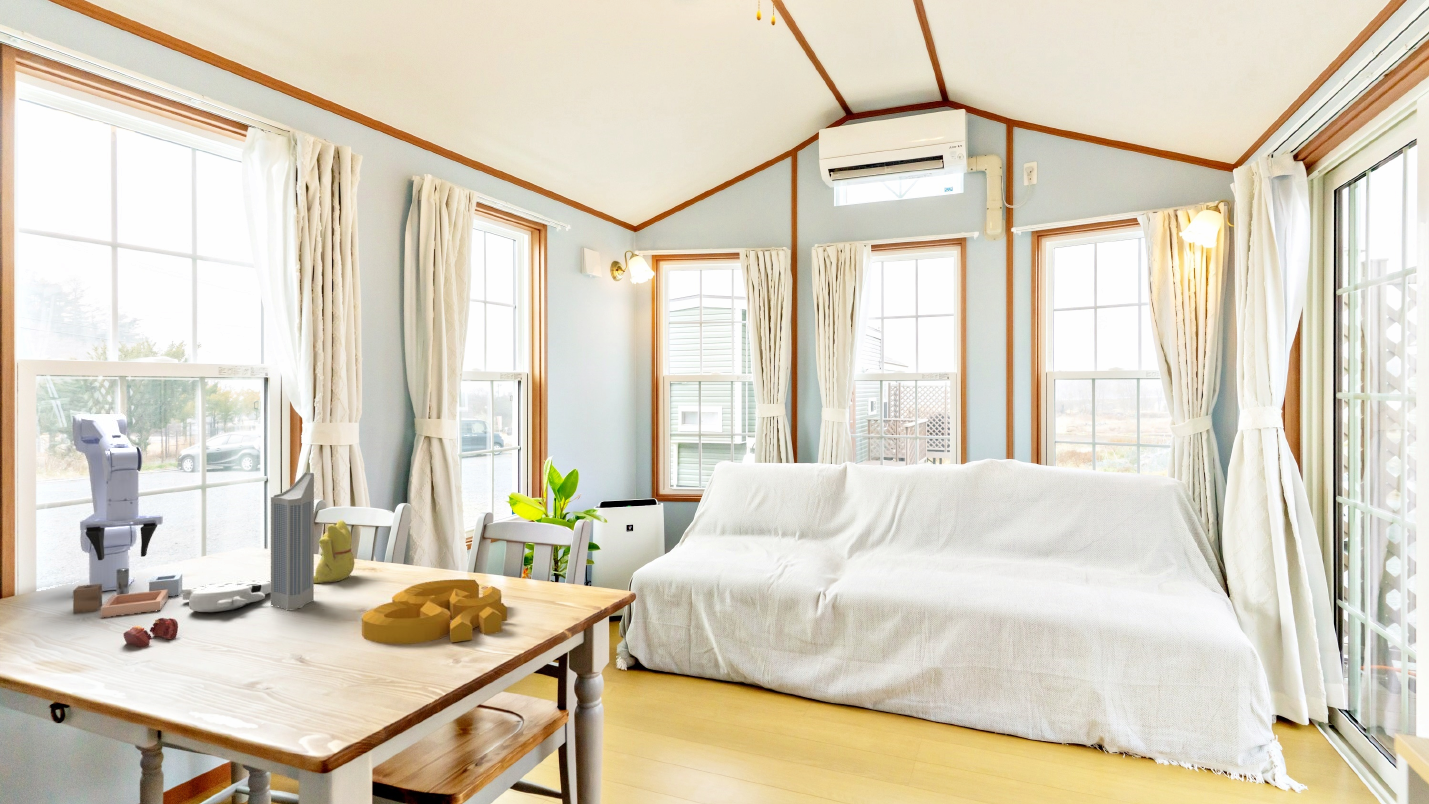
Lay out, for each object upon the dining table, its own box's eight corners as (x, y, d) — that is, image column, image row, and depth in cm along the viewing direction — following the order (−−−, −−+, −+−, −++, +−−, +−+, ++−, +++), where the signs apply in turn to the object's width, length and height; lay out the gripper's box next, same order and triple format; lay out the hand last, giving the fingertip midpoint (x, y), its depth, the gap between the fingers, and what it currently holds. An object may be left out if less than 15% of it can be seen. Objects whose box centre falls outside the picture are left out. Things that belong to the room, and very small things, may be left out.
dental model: (119, 624, 133) (166, 612, 140) (118, 646, 133) (165, 633, 141) (135, 630, 131) (182, 617, 138) (135, 652, 131) (182, 638, 138)
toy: (142, 618, 148) (234, 615, 148) (144, 595, 149) (235, 592, 149) (217, 600, 170) (298, 598, 170) (218, 581, 171) (298, 578, 170)
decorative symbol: (425, 575, 167) (541, 584, 161) (425, 596, 167) (541, 606, 161) (335, 614, 138) (472, 627, 132) (335, 640, 138) (472, 653, 132)
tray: (112, 605, 157) (112, 595, 157) (168, 598, 162) (168, 589, 162) (101, 617, 148) (101, 607, 148) (160, 610, 154) (160, 600, 154)
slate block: (153, 592, 167) (153, 576, 166) (182, 589, 169) (182, 573, 169) (149, 599, 162) (149, 582, 162) (178, 595, 165) (178, 579, 164)
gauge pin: (117, 598, 162) (117, 568, 162) (129, 597, 163) (129, 567, 163) (115, 601, 160) (115, 571, 160) (127, 599, 161) (127, 569, 161)
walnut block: (78, 608, 155) (78, 585, 155) (102, 605, 157) (101, 583, 157) (73, 613, 151) (73, 590, 151) (97, 610, 154) (97, 587, 153)
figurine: (327, 574, 185) (327, 518, 185) (360, 574, 185) (361, 518, 185) (304, 586, 174) (304, 526, 173) (340, 586, 174) (340, 526, 174)
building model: (320, 599, 163) (320, 472, 162) (295, 610, 155) (296, 476, 154) (287, 598, 164) (287, 471, 163) (261, 609, 156) (261, 476, 155)
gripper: (76, 504, 154) (76, 565, 154) (158, 499, 161) (158, 557, 162) (84, 499, 160) (85, 558, 160) (164, 495, 167) (164, 551, 168)
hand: (122, 557), depth 161 cm, fingers open, 7 cm apart
